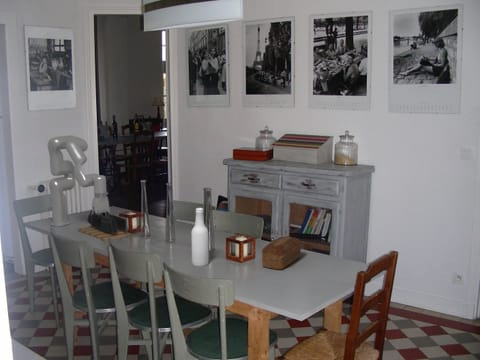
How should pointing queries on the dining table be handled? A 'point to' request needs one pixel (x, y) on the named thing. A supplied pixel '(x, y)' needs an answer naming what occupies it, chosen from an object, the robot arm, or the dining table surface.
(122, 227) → the shelf wall
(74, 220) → the dining table surface
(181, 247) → the dining table surface
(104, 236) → the shelf board
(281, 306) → the dining table surface
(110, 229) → the magazine
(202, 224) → the alcohol
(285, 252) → the bread
